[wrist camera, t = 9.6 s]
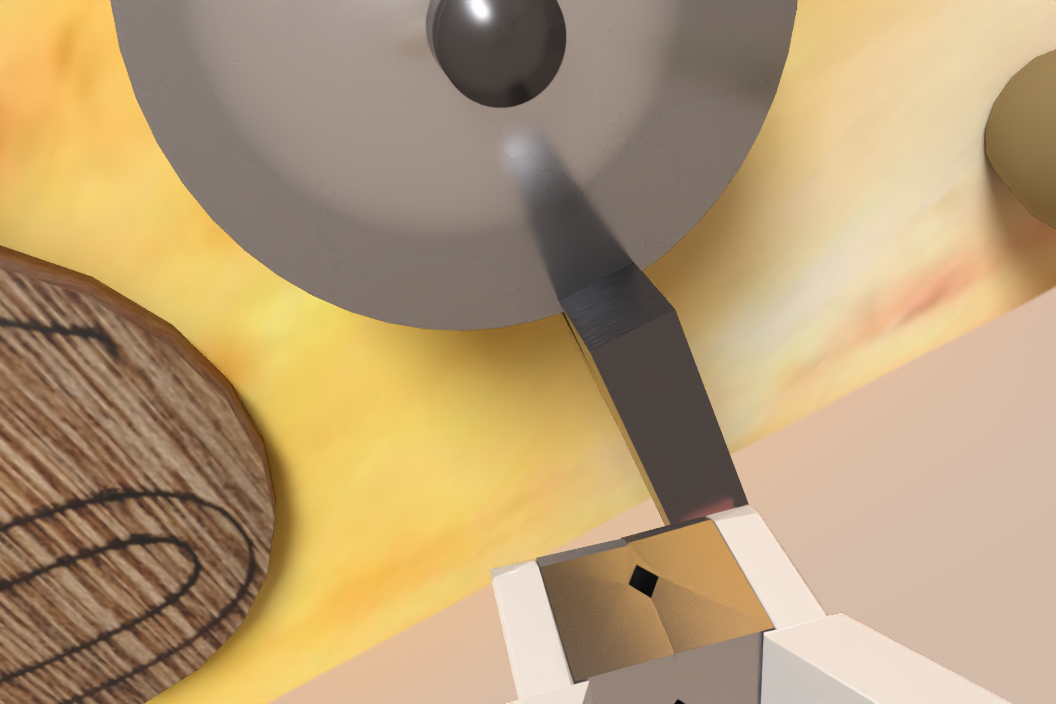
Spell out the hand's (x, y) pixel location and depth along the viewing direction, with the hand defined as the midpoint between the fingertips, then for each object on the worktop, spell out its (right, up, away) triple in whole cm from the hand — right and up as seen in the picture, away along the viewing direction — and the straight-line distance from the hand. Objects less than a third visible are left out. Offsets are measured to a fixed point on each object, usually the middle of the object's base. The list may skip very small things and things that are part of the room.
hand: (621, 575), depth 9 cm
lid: (0, +7, +13) cm, 15 cm away
